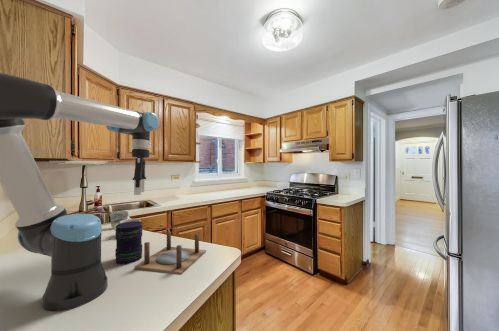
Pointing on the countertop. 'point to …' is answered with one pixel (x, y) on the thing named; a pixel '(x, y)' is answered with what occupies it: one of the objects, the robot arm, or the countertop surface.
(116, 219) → the ceramic fragment
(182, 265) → the walnut stand
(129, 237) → the storage jar
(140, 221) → the teacup
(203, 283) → the countertop surface
